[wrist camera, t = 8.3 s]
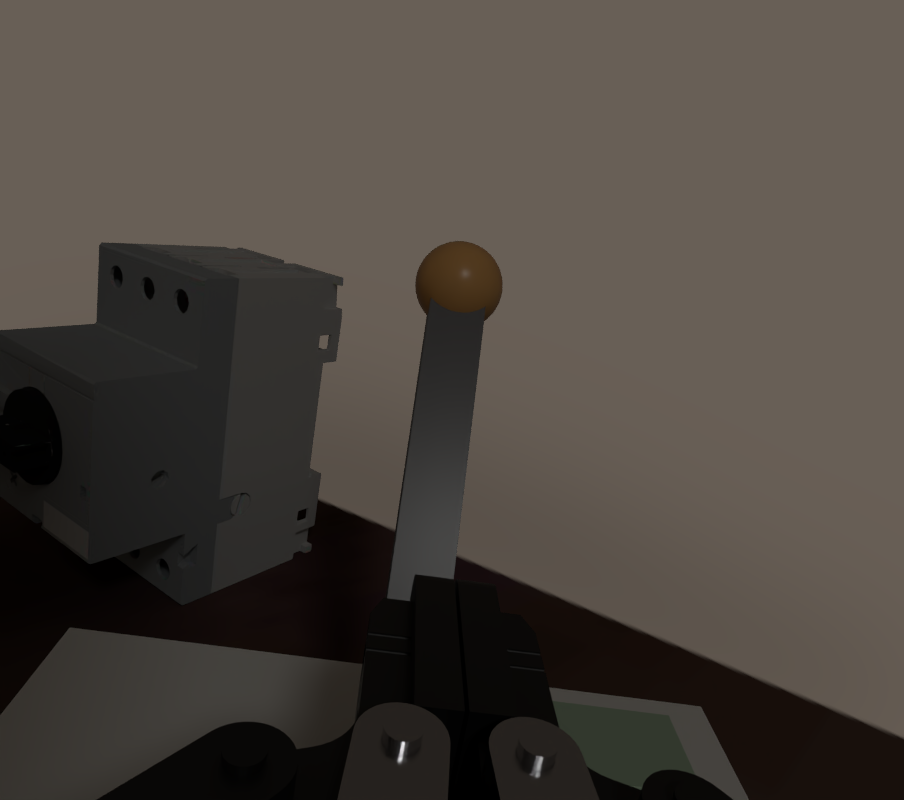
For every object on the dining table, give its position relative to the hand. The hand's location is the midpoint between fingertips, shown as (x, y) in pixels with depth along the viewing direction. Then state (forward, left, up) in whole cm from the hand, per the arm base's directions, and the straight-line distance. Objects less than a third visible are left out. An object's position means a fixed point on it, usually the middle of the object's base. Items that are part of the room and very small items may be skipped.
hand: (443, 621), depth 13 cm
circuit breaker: (-19, +15, -13) cm, 27 cm away
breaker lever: (-1, +2, -7) cm, 7 cm away
